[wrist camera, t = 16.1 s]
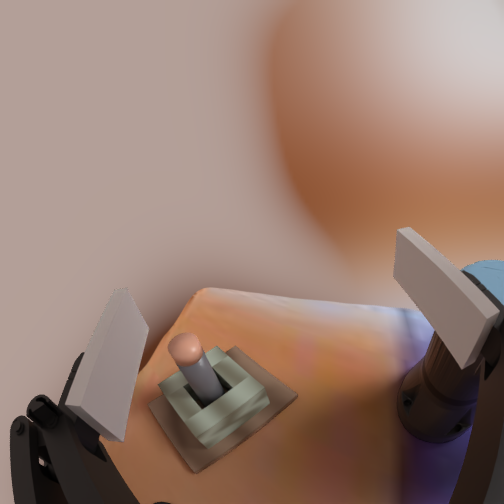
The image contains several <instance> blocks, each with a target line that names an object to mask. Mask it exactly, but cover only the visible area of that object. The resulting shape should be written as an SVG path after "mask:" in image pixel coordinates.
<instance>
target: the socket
mask: <svg viewBox="0 0 504 504" xmlns="http://www.w3.org/2000/svg"><path fill="white" fill-rule="evenodd" d="M205 355H206V357H207V359H208V361H209V363H210V365H211V367H212V369H213V370H214V372H215V374H216V376H217V378H218V380H219V382H220V384H221V386H222V388H223V390H224V391H225V394H224V395H223V396H221V397H220V398H218V399H217V400H216V401H214V402H213V403H211V404H210V405H208V406H207V407H206V408H205V406H204V405H203V403H202V402H201V401H200V399H199V398H198V396H197V395H196V393H195V392H194V390H193V389H192V387H191V386H190V384H189V383H188V381H187V380H186V378H185V377H184V375H183V374H182V372H181V370H180V371H178V372H177V373H175V374H173V375H172V376H170V377H169V378H167V379H166V380H164V381H162V382H161V383H159V384H158V386H159V387H160V389H161V390H162V392H163V393H164V394H163V395H161V396H160V397H158V398H156V399H155V400H153V401H151V402H150V403H148V406H149V408H150V409H151V411H152V413H153V414H154V416H155V418H156V419H157V421H158V422H159V424H160V425H161V427H162V429H163V430H164V432H165V433H166V435H167V436H168V438H169V439H170V440H171V442H172V443H173V445H174V446H175V448H176V449H177V450H178V452H179V453H180V455H181V456H182V457H183V459H184V460H185V461H186V463H187V464H188V465H189V467H190V468H191V469H192V470H193V472H194V473H196V474H197V473H199V472H200V471H202V470H204V469H205V468H207V467H208V466H210V465H211V464H213V463H214V462H216V461H217V460H219V459H220V458H222V457H223V456H225V455H226V454H227V453H229V452H230V451H232V450H233V449H234V448H236V447H237V446H239V445H240V444H241V443H243V442H244V441H245V440H247V439H248V438H249V437H251V436H252V435H253V434H255V433H256V432H257V431H258V430H260V429H261V428H262V427H263V426H265V425H266V424H267V423H268V422H270V421H271V420H272V419H273V418H274V417H276V416H277V415H278V414H279V413H280V412H281V411H283V410H284V409H285V408H286V407H287V406H288V405H290V404H291V403H292V402H293V401H294V400H295V399H296V398H297V397H298V394H297V393H296V392H294V391H293V390H291V389H290V388H289V387H287V386H286V385H285V384H283V383H282V382H281V381H279V380H278V379H277V378H276V377H274V376H273V375H272V374H270V373H269V372H268V371H266V370H265V369H264V368H263V367H261V366H260V365H259V364H258V363H256V362H255V361H254V360H253V359H251V358H250V357H249V356H248V355H246V354H245V353H244V352H243V351H241V350H240V349H239V348H238V347H237V346H234V347H233V348H231V349H230V350H229V351H227V352H226V353H224V352H223V351H222V350H221V349H220V348H219V347H218V346H216V347H214V348H213V349H211V350H210V351H208V352H207V353H205Z"/></svg>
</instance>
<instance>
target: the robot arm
mask: <svg viewBox="0 0 504 504" xmlns="http://www.w3.org/2000/svg"><path fill="white" fill-rule="evenodd" d="M393 277H394V278H395V279H396V281H397V282H398V283H399V284H400V285H401V287H402V288H403V289H404V290H405V292H406V293H407V294H408V295H409V297H410V298H411V299H412V300H413V302H414V303H415V304H416V306H417V307H418V308H419V310H420V311H421V312H422V313H423V315H424V316H425V317H426V319H427V320H428V321H429V323H430V324H431V326H432V327H433V328H434V330H435V331H434V334H433V336H432V339H431V342H430V344H429V347H428V349H427V352H426V355H425V356H424V357H423V358H422V359H421V360H420V361H419V362H418V363H417V364H416V365H415V366H414V367H413V368H412V369H411V370H410V371H409V372H408V374H407V375H406V377H405V378H404V380H403V383H402V385H401V388H400V390H399V393H398V398H397V409H398V414H399V417H400V420H401V422H402V423H403V425H404V426H405V428H406V429H407V430H408V431H409V432H410V433H411V434H412V435H414V436H415V437H417V438H419V439H421V440H423V441H427V442H432V443H442V442H447V441H450V440H453V439H455V438H457V437H459V436H461V435H462V434H463V433H465V432H466V431H467V430H468V429H469V428H470V427H471V426H472V425H473V427H472V432H471V436H470V440H469V444H468V448H467V452H466V455H465V459H464V462H463V466H462V469H461V472H460V475H459V478H458V481H457V484H456V486H455V489H454V492H453V494H452V497H451V499H450V502H449V504H504V261H500V260H484V261H478V262H475V263H474V264H471V265H467V266H466V267H464V268H463V269H461V270H459V269H458V268H457V267H456V266H454V264H452V263H451V262H450V261H449V260H448V259H447V258H446V257H445V256H443V255H442V254H441V253H440V252H439V251H438V250H437V249H435V248H434V247H433V246H432V245H431V244H430V243H428V242H427V241H426V240H425V239H424V238H422V237H421V236H420V235H419V234H417V233H416V232H415V231H414V230H413V229H411V228H410V227H407V228H402V229H398V230H397V237H396V252H395V265H394V274H393ZM148 331H149V328H148V326H147V324H146V322H145V321H144V319H143V317H142V315H141V313H140V311H139V310H138V308H137V306H136V304H135V302H134V300H133V298H132V296H131V294H130V293H129V291H128V289H127V288H122V289H117V290H114V291H113V293H112V295H111V297H110V299H109V301H108V303H107V305H106V307H105V309H104V311H103V313H102V316H101V318H100V320H99V322H98V324H97V326H96V328H95V331H94V333H93V335H92V337H91V340H90V342H89V344H88V346H87V349H86V351H85V352H83V353H81V354H80V356H79V357H78V358H77V359H76V361H75V363H74V365H73V367H72V370H71V373H70V375H69V377H68V380H67V383H66V385H65V387H64V390H63V393H62V395H61V398H60V401H59V404H58V406H57V405H55V404H54V403H53V402H52V401H51V400H50V399H49V398H48V397H47V396H45V395H38V396H36V397H35V398H33V399H32V400H31V402H30V403H29V405H28V407H27V417H28V418H30V419H31V420H32V421H33V422H31V421H30V420H29V419H27V418H26V417H25V416H19V417H17V418H16V419H15V420H14V421H13V423H12V425H11V429H10V458H11V459H10V461H11V477H12V486H13V494H14V502H15V504H140V503H139V502H138V500H137V499H136V497H135V496H134V495H133V493H132V492H131V490H130V489H129V487H128V486H127V484H126V483H125V481H124V480H123V478H122V476H121V475H120V473H119V472H118V470H117V468H116V467H115V465H114V463H113V462H112V460H111V458H110V456H109V455H108V453H107V451H106V449H105V447H104V445H103V444H102V443H101V442H100V441H99V436H100V435H102V436H103V437H104V438H106V439H107V440H108V441H118V442H124V437H125V431H126V426H127V421H128V415H129V410H130V406H131V401H132V396H133V392H134V387H135V383H136V378H137V374H138V370H139V365H140V361H141V358H142V353H143V350H144V346H145V342H146V339H147V335H148ZM39 458H40V459H42V460H43V461H44V466H42V465H41V464H39Z"/></svg>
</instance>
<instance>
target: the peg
mask: <svg viewBox="0 0 504 504" xmlns="http://www.w3.org/2000/svg"><path fill="white" fill-rule="evenodd" d="M168 351H169V353H170V354H171V356H172V358H173V359H174V361H175V363H176V364H177V366H178V367H179V369H180V370H181V372H182V374H183V375H184V377H185V378H186V380H187V381H188V383H189V384H190V386H191V387H192V389H193V390H194V392H195V393H196V395H197V396H198V398H199V399H200V401H201V402H202V403H203V405H204V406H205V408H206V407H207V406H208V405H210V404H211V403H213V402H214V401H216V400H217V399H218V398H220V397H221V396H223V395H224V394H225V391H224V390H223V388H222V386H221V384H220V382H219V380H218V378H217V376H216V374H215V372H214V370H213V369H212V367H211V365H210V363H209V361H208V359H207V357H206V355H205V353H204V350H203V348H202V346H201V344H200V342H199V340H198V338H197V336H196V335H194V334H192V333H182V334H179V335H177V336H175V337H174V338H173V339H172V340H171V341H170V342H169V345H168Z"/></svg>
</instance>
